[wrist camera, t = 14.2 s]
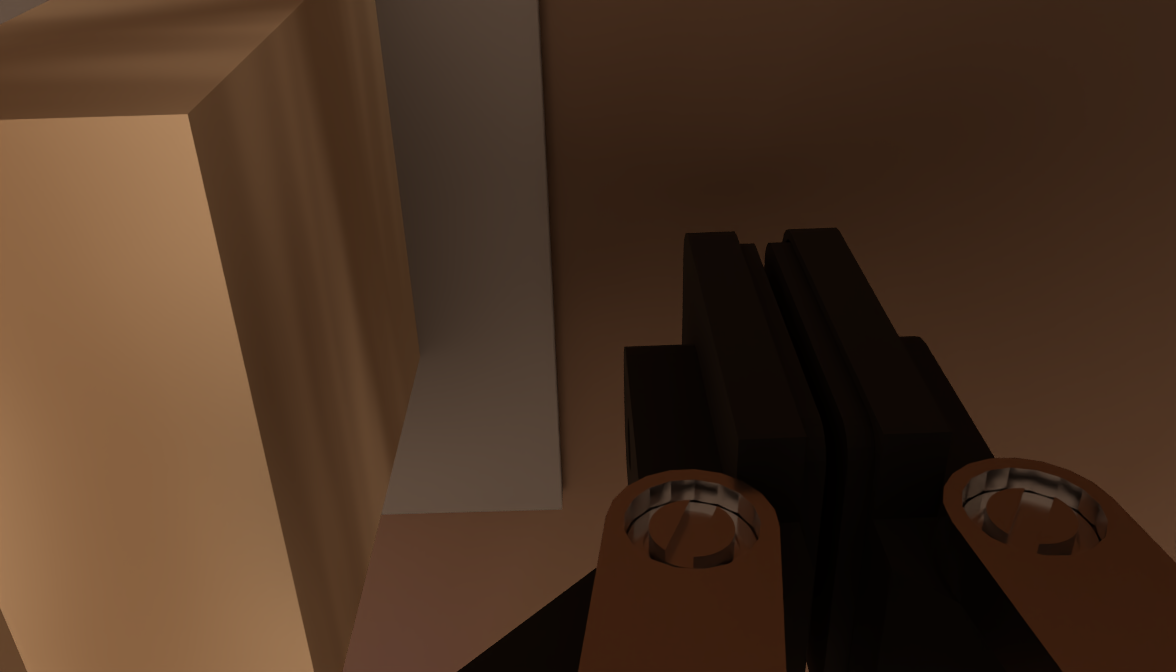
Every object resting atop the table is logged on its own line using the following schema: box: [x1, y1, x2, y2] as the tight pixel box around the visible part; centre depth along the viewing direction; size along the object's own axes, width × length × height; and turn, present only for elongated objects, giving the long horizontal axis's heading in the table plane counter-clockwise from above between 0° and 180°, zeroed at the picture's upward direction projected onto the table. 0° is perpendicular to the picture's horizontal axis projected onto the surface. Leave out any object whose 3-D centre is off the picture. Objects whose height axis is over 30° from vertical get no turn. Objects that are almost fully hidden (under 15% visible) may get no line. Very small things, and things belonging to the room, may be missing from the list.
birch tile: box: [0, 0, 420, 672], centre depth 13 cm, size 3×7×8 cm, turn 2°
